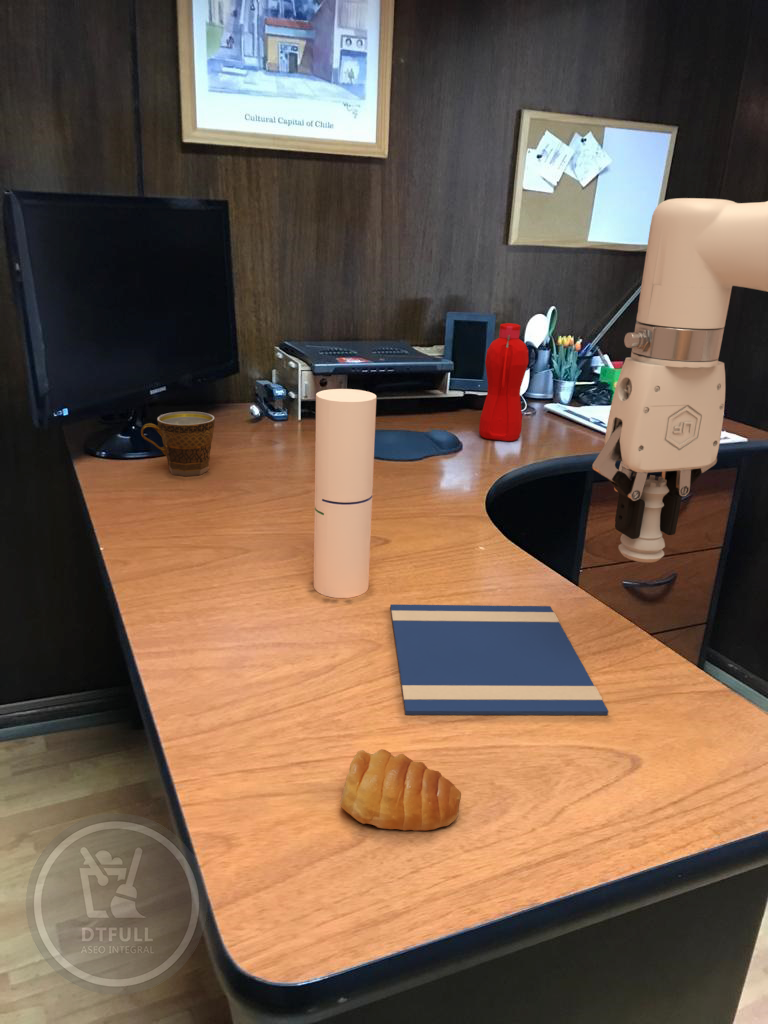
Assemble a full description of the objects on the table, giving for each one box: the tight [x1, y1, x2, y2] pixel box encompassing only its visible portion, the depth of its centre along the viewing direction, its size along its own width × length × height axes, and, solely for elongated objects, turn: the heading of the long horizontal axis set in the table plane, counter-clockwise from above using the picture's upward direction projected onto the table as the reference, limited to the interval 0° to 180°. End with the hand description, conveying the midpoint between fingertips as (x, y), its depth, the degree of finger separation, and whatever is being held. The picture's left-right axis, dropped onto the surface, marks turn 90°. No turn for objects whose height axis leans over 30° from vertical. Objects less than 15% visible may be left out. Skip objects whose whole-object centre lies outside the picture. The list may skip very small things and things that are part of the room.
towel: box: [389, 603, 609, 716], centre depth 85 cm, size 20×22×1 cm
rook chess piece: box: [618, 474, 669, 563], centre depth 76 cm, size 4×4×8 cm
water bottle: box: [478, 322, 529, 442], centre depth 169 cm, size 9×11×25 cm
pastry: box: [339, 748, 462, 832], centre depth 62 cm, size 9×7×4 cm
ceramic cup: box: [140, 410, 216, 478], centre depth 139 cm, size 13×10×10 cm
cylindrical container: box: [313, 388, 377, 599], centre depth 96 cm, size 7×7×25 cm
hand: (644, 530), depth 77 cm, fingers closed on rook chess piece, 3 cm apart
